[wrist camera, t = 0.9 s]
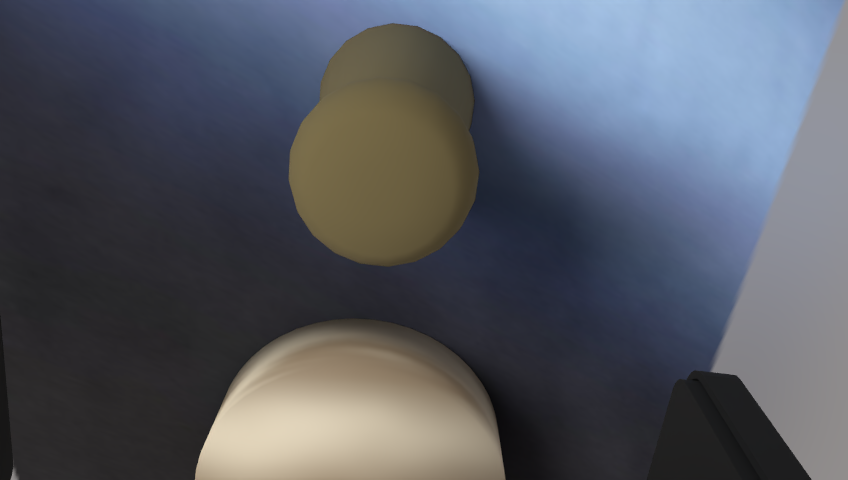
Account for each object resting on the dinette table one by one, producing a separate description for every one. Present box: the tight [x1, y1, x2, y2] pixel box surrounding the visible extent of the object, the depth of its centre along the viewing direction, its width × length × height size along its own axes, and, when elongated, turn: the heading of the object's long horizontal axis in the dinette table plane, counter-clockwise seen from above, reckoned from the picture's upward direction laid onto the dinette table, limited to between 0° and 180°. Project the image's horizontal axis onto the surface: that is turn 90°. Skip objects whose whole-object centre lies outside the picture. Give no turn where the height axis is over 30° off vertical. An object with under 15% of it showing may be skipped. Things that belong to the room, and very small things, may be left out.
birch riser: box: [195, 319, 505, 480], centre depth 34 cm, size 13×13×4 cm
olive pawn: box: [289, 23, 479, 266], centre depth 25 cm, size 6×6×11 cm
